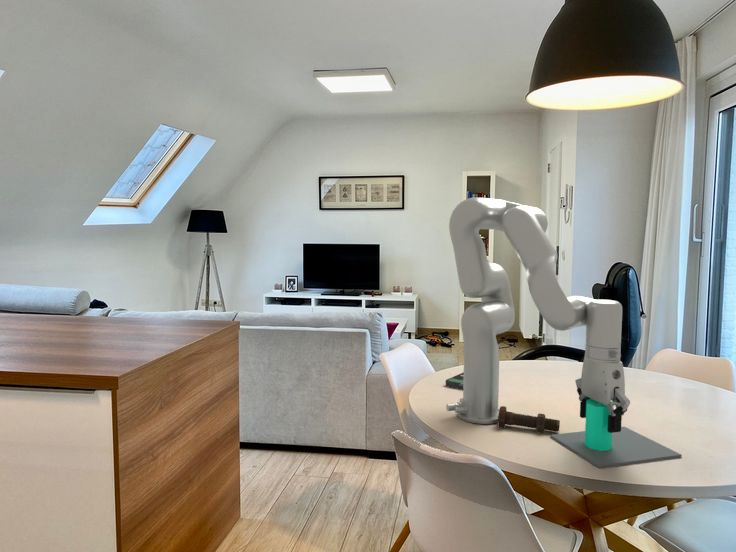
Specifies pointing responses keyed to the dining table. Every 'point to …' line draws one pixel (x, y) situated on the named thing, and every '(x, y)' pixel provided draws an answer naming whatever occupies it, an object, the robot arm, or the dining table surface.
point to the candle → (597, 426)
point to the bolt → (527, 421)
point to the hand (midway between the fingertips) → (599, 424)
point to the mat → (617, 449)
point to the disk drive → (456, 381)
